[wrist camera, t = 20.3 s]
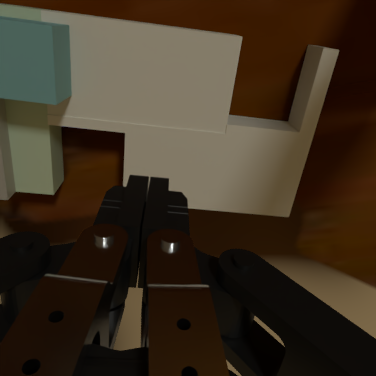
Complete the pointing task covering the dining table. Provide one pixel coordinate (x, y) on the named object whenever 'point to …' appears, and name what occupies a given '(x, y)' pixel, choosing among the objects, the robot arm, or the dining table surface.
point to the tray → (165, 115)
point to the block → (34, 61)
